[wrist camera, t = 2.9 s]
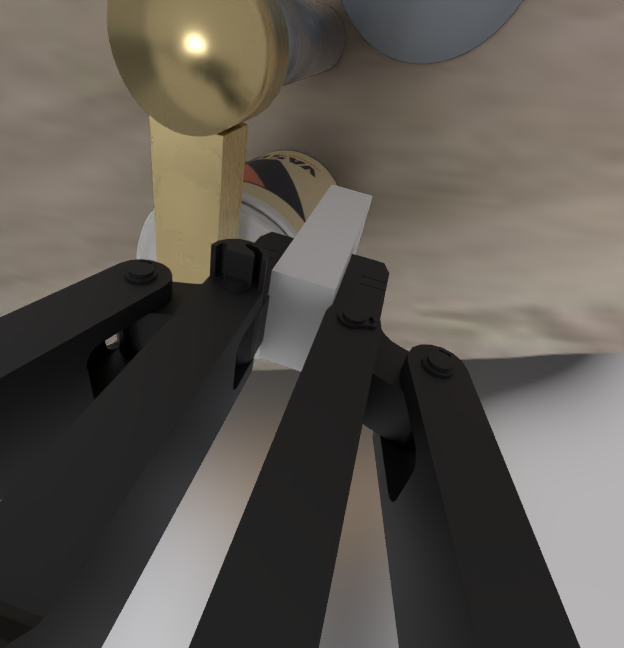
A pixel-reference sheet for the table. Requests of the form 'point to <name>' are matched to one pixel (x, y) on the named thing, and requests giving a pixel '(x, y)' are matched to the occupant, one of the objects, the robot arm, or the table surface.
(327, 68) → the post
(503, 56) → the table surface
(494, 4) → the disc
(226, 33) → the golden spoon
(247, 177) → the coffee cup
